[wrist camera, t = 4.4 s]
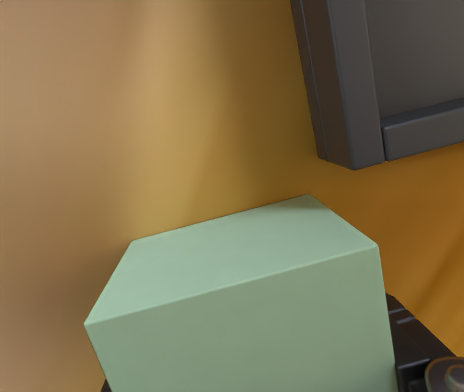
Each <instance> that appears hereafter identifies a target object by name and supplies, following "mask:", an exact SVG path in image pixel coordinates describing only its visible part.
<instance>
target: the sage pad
mask: <svg viewBox="0 0 464 392" xmlns="http://www.w3.org/2000/svg"><path fill="white" fill-rule="evenodd" d="M84 328H85V330H86V333H87V335H88V337H89V340H90V342H91V344H92V347H93V349H94V351H95V354H96V356H97V358H98V361H99V363H100V365H101V368H102V370H103V372H104V375H105V377H106V379H107V382H108V384H109V386H110V389H111V391H112V392H398V385H397V378H396V371H395V364H394V363H395V359H394V352H393V345H392V338H391V331H390V324H389V317H388V310H387V303H386V296H385V289H384V282H383V275H382V267H381V260H380V253H379V247H378V245H377V244H376V243H375V242H374V241H372V240H371V239H370V238H368V237H367V236H365V235H364V234H363V233H361V232H360V231H359V230H357V229H356V228H355V227H353V226H352V225H351V224H349V223H348V222H347V221H345V220H344V219H342V218H341V217H340V216H338V215H337V214H336V213H334V212H333V211H332V210H330V209H329V208H328V207H326V206H325V205H324V204H322V203H321V202H319V201H318V200H317V199H315V198H314V197H313V196H311V195H310V194H307V195H303V196H299V197H295V198H292V199H288V200H284V201H280V202H276V203H273V204H269V205H265V206H261V207H258V208H254V209H250V210H246V211H243V212H239V213H235V214H231V215H227V216H224V217H220V218H216V219H212V220H209V221H205V222H201V223H197V224H194V225H190V226H186V227H182V228H178V229H175V230H171V231H167V232H163V233H160V234H156V235H152V236H148V237H144V238H141V239H137V240H133V241H131V243H130V245H129V246H128V248H127V250H126V252H125V253H124V255H123V257H122V258H121V260H120V262H119V264H118V265H117V267H116V269H115V270H114V272H113V274H112V276H111V277H110V279H109V281H108V283H107V284H106V286H105V288H104V289H103V291H102V293H101V295H100V296H99V298H98V300H97V301H96V303H95V305H94V307H93V308H92V310H91V312H90V313H89V315H88V317H87V319H86V320H85V322H84Z"/></svg>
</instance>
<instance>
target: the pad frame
mask: <svg viewBox="0 0 464 392" xmlns="http://www.w3.org/2000/svg"><path fill="white" fill-rule="evenodd" d="M290 2H291V8H292V14H293V19H294V25H295V30H296V36H297V41H298V47H299V52H300V58H301V63H302V69H303V74H304V80H305V85H306V91H307V97H308V102H309V108H310V113H311V119H312V124H313V130H314V135H315V141H316V146H317V152H318V157H319V158H320V159H322V160H325V161H328V162H331V163H334V164H337V165H340V166H343V167H345V168H348V169H351V170H359V169H363V168H366V167H370V166H374V165H378V164H381V163H383V162H385V161H393V160H397V159H400V158H404V157H408V156H412V155H415V154H419V153H423V152H427V151H431V150H434V149H438V148H442V147H446V146H449V145H453V144H457V143H461V142H464V0H290Z"/></svg>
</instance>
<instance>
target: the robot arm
mask: <svg viewBox="0 0 464 392" xmlns="http://www.w3.org/2000/svg"><path fill="white" fill-rule="evenodd" d="M385 296H386V303H387V310H388V317H389V324H390V331H391V338H392V345H393V352H394V359H395V363H394V364H395V371H396V378H397V385H398V392H464V358H463V357H457V356H455V355H454V354H453V353H452V352H451V351H450V350H449V349H448V348H447V347H446V346H445V345H444V344H443V343H442V342H441V341H440V340H439V339H438V338H437V337H435V336H434V335H433V334H432V333H431V332H430V331H429V330H428V329H427V328H426V327H425V326H424V325H423V324H422V323H421V322H420V321H419V320H418V319H415V317H414V316H413V315H412V314H411V313H410V312H409V311H408V310H406V309H405V307H404V306H403V305H402V304H401V303H400V302H399V301H398V300H396V299H395V298H394V297H393V296H391V295H389V294H387V293H385ZM101 392H112V391H111V389H110V386H109V384H108V382H107V379H105V382H104V385H103V387H102V390H101Z"/></svg>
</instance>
